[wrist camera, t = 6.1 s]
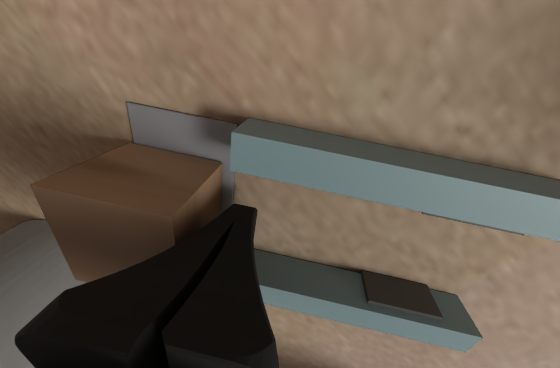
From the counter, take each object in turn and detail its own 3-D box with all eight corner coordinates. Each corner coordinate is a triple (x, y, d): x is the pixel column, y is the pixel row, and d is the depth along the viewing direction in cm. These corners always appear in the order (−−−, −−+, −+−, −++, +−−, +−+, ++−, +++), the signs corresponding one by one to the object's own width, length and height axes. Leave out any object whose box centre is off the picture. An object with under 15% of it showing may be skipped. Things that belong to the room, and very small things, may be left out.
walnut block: (220, 235, 14) (181, 305, 10) (143, 218, 14) (75, 279, 10) (223, 162, 11) (171, 216, 7) (129, 142, 11) (29, 184, 7)
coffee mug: (8, 262, 19) (-242, 425, 11) (20, 194, 15) (-394, 380, 6) (144, 333, 22) (33, 507, 14) (188, 295, 18) (66, 516, 9)
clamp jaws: (443, 310, 14) (465, 352, 12) (236, 261, 15) (223, 294, 13) (564, 181, 9) (634, 214, 7) (249, 117, 10) (231, 132, 8)
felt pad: (229, 256, 15) (228, 257, 15) (153, 238, 15) (151, 239, 15) (237, 124, 10) (236, 124, 10) (129, 101, 11) (126, 102, 10)
